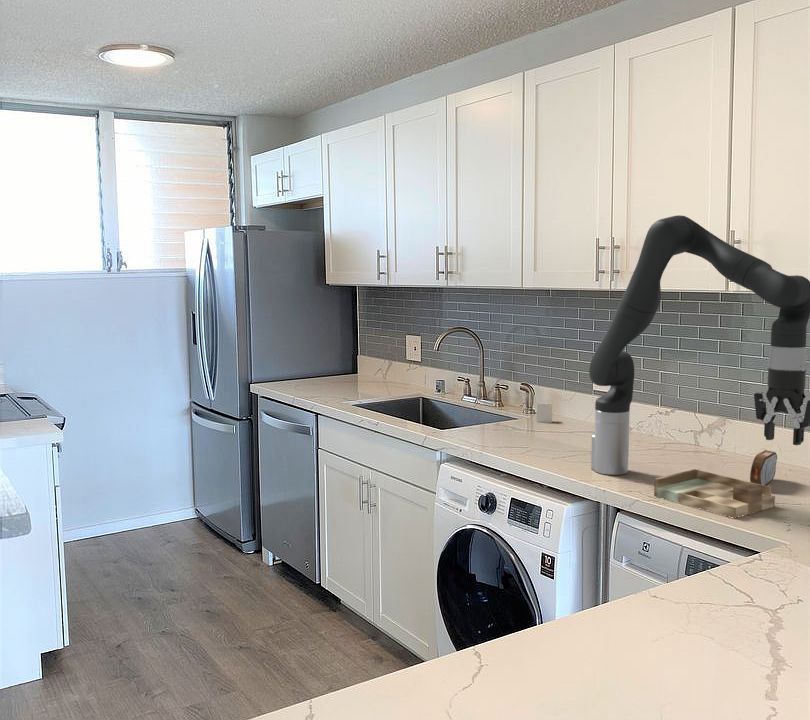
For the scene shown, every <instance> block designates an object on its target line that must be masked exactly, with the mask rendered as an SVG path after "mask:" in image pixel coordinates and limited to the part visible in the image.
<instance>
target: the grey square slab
mask: <svg viewBox="0 0 810 720" xmlns="http://www.w3.org/2000/svg"><path fill="white" fill-rule="evenodd" d="M535 413H536V415H535V416H536V418H535V419H536V420H535V422H536V423H544V424H549V423H550V424H553V416H556V415H557V412H555V411H554V412H553V403H548V402H545V403H541V402H540V403H539V402H538V403H536V412H535Z"/></svg>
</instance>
